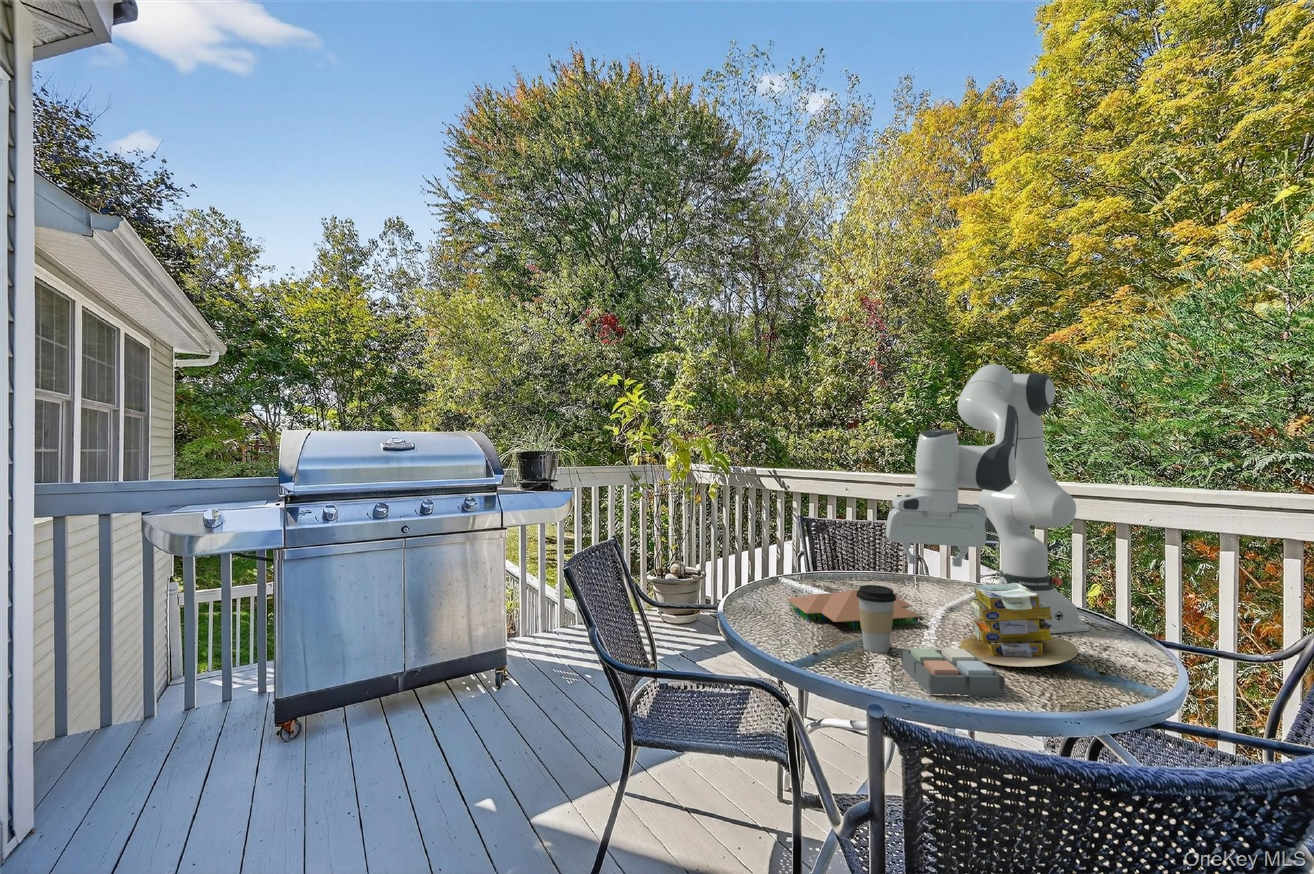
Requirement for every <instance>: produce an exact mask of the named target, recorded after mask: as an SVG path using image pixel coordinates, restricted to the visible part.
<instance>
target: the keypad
mask: <svg viewBox="0 0 1314 874" xmlns="http://www.w3.org/2000/svg"><path fill="white" fill-rule="evenodd" d="M934 650H935V651H936V652H937V653H939V654H940V655H941V656H942V657H943V661H948V662H950V663H951V664H952V665H953V666H954V667H956V668H957V669H958V670H959V675H933V674H932V673H931V672H930V671H929V670H927V669H926V668H925V667H924V661H918V660H917V659H916V658H914V657H913V656H912V655H911V648H910V649H909V648H907V649H906V648H905V649H904V648H902V649H901V652H900V653H901V654H900V655H901V657H900V658H901V659H900V661H901V662H900V663H901V665H900V667H901V668H902V669H903V670H904V672H905V673H907V675H909V676H910V678H912V679H913V680H914V679H915V680H914V681H915V682H916V681H917V682H918V683H917V682H916V683H917V684H918V685H919V684H920V685H921V686H922V687H923V688H924V689H925V690H927V691H928V692H929V693H930V694H960V695H968V696H967V697H973V696H1004V697H1005V676H1003V675H1001V674H1000V673H999V672H997V670H995V669H994V668H992V667H991V666H989V665H988V664H987V663H986V662H983V661H981V660H980V659H979V658H977V657H976V656H975V655H973V654H972V653H971V652H969V651H968V650H966V651H967V652H969V653H970V654H971V655H973V656H974V657H975V661H981V662H982V663H984V664H985V665H986V666H988V667H989V668H990V669H992V670H993V675H967V674H965V673H964V672H963V671H962V670H961V669H959V668H958V667H957V662H951V661H950V660H948V659H947V658H946V657H945V656H943V655H942V649H934ZM920 685H919V686H920ZM921 686H920V687H921ZM922 687H921V688H922ZM923 688H922V689H923ZM924 689H923V690H924ZM925 690H924V691H925ZM969 695H970V696H969Z"/></svg>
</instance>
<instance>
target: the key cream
mask: <svg viewBox="0 0 1314 874" xmlns="http://www.w3.org/2000/svg"><path fill="white" fill-rule="evenodd" d="M941 650H942V655H943V656H945V657H946V658H947V659H948V660H950V661H951V662H957V661H975V657H974V656H973V655H971V654H970V653H969V652H967V651H966V650H965V649H960V648H941Z"/></svg>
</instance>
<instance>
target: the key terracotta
mask: <svg viewBox="0 0 1314 874" xmlns="http://www.w3.org/2000/svg"><path fill="white" fill-rule="evenodd" d="M924 667H925V668H926V669H927V670H929V671H930V672H931V673H932V674H933V675H959V670H958V669H957V668H956V667H954V666H953V665H952V664H951V663H950V662H948V661H933V660H924Z"/></svg>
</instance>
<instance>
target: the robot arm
mask: <svg viewBox="0 0 1314 874" xmlns="http://www.w3.org/2000/svg"><path fill="white" fill-rule="evenodd" d="M1055 397H1056V389H1055V385H1054V382H1053V379H1052V378H1051V377H1050V376H1049V375H1048V374H1046V373H1040V372H1030V373H1012V372H1011V370H1010V369H1008V368H1007V367H1006V366H1003V365H1001V364H1000V365H999V364H996V363H995V364H993V363H992V364H987V365H984V366H982V367H980V368H978V370H977V371H976V372H975V373H974V374H973V375H972V376H971V377H970V379H969V380H968V381H967V383H966V384H965V385H964V386H963V388H962V391H961V393H960V395H959V398H958V401H957V412H958V415H959V417H960V418H961V420H962V421H963V422H964V423H965V424H967V426H970V427H971V428H973V429H976V430H977V431H983V432H989V433H992V434H995V437H994V443H992V444H988V445H962V444H959V441H958V435H957V432H956V431H954V430H952V429H939V428H938V429H937V428H936V429H928V430H925V431H922V432H921V433H920V434H919V435H918V439H917V444H916V449H915V450H916V451H915V459H914V460H915V461H914V469H915V475H916V480H915V483H914V488H913V489H914V490H913V491H914V492H913V493H909V494H905V495H900V496H897V497H893V498H892V501H891V505H892V506H893V508H892V509H890V511H889V513H888V515H887V521H886V525H885V526H886V527H885V538H886V539H888V541H890V542H891V543H899V544H900V543H902V544H901V546H902V549H903V551H904V553H906V562H907V564H910V565H911V564H914V565H915V564H917V555H915V554H912V552H911V551H910V549H911V548H912V544H917V545H918V544H919V545H937V546H949V547H950V546H951V547H957V551H958V550H959V552H958V554H957V555H956V556H955V557H954V556H952V558H951V559H952V562H951V565H952V566H953V567H959V568H962V565H963V559H964V558H965V556H966V555H967V553H968V551H969V548H983V547H985V545H986V544H987V532H986V531H987V530H986V525H985V524H986V522H987V518H988V520H989V521H990V522H991V524H992V525H993V527H994V529H995V531H996V533H997V537H998V539H999V543H1000V552H1001V555H1000V556H1001V557H1000V558H1001V569H1000V570H999V584H1002V583H1004V584H1011V583H1018V584H1021V585H1022V586H1024V587H1026V588H1027V589H1029V590H1031V592H1032V591H1033V592H1035V593H1036V594H1039V595H1038V596H1039V600H1041V601H1042V602H1044V603H1045V604H1046V605H1048V606H1049V607H1050V611H1051V617H1052V618H1051V619H1045V622H1046V623H1048V624H1049V625H1050V624H1051V627H1050V634H1059V633H1060V634H1061V633H1062V634H1063V633H1077V632H1079V633H1080V632H1089V631H1090V627H1089V625H1088V624H1087V623H1086V622H1084V621H1082V620H1080V616H1079V611H1078V608H1077V606H1076V605H1075V603H1074V602H1072V601H1071V599H1068V598H1067V597H1066V596H1065V595H1063V593H1060V592H1059V591H1058V590H1057V589H1056V588H1055V587H1054V585H1056V586H1059V587H1060V586H1062V585H1063V580H1062V578H1059V577H1056V576H1054V577H1052V576H1050V575H1049V574H1048V570H1049V569H1048V559H1049V558H1048V554H1049V553H1048V552H1049V551H1048V548H1047V546H1046V545H1045V544H1044V542H1042V540H1040V539H1039V538H1037V537H1036V536H1035V534H1034V533H1033V531H1032V529H1031V527H1032V526H1033V527H1041V528H1044V529H1045V528H1048V529H1049V528H1050V529H1051V528H1064V527H1067V526H1068V525H1070V524H1071V523H1072V522H1073V521H1074V519H1075V517H1076V513H1077V505H1076V502H1075V499H1074V498H1073V496H1072V495H1071V494H1070V493H1069V492H1067V491H1066V490H1065V489H1063V487H1061V486H1060V484H1058V482H1057V481H1056V480H1055V479H1054V477H1053V475H1052V474H1051V472H1050V469H1049V467H1048V463H1047V457H1046V450H1045V439H1044V428H1043V422H1042V417H1041V416H1042V415H1043V413H1044V412H1046V411H1048V410H1049V409H1050V408H1052V407H1051V406H1052V405H1053V404H1054V400H1055ZM1015 481H1016V484H1014V483H1015ZM959 488H966V489H967V488H968V489H980V490H981V489H982V490H981V491H980V494H979V496H978V504H977V503H972V504H969V503H959ZM1030 526H1031V527H1030ZM1033 592H1032V593H1033Z"/></svg>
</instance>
